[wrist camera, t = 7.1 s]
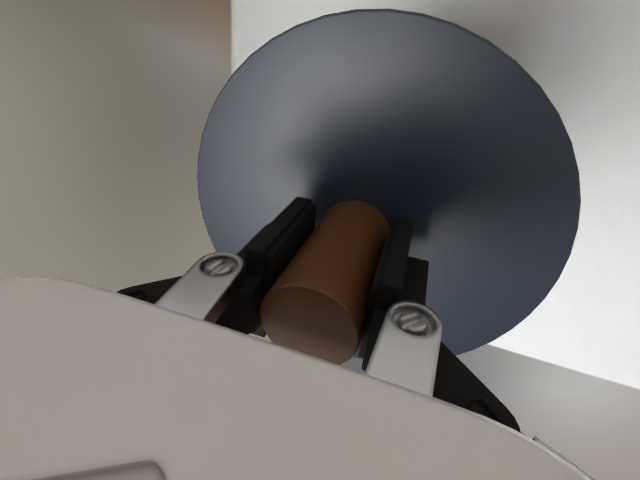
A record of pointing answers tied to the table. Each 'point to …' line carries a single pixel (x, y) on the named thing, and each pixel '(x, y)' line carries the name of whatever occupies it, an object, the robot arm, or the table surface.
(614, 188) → the table surface
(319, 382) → the robot arm
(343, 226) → the pot lid
